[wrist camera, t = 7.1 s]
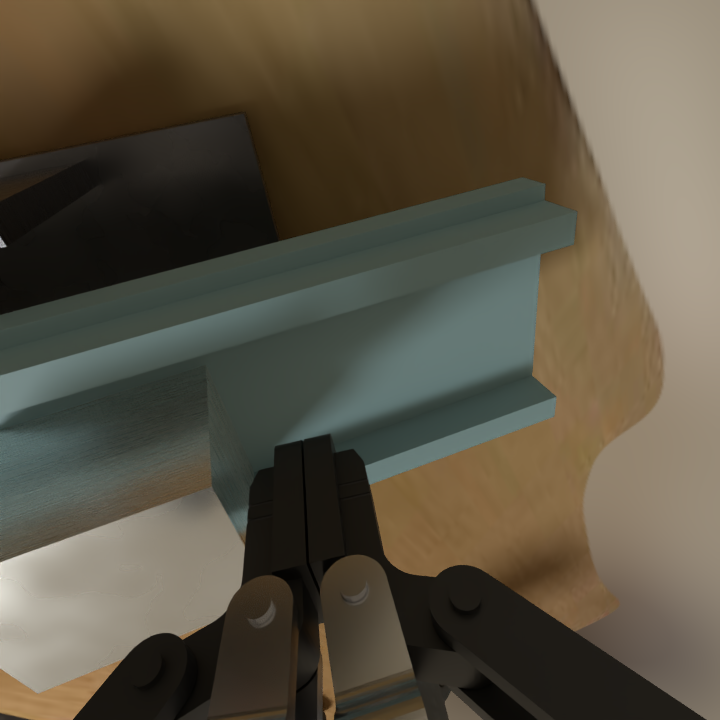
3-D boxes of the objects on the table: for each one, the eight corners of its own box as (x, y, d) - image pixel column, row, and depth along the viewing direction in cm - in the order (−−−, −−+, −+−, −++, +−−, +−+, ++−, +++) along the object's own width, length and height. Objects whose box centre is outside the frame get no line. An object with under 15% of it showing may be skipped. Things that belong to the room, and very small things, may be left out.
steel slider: (-8, 431, 13) (-102, 598, 8) (205, 365, 14) (211, 486, 9) (79, 530, 15) (37, 693, 11) (252, 467, 16) (272, 598, 12)
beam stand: (-371, 234, 17) (-774, 339, 11) (245, 111, 18) (226, 138, 11) (-89, 488, 26) (-216, 635, 19) (322, 396, 27) (336, 506, 20)
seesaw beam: (-649, 333, 13) (-1677, 642, 6) (437, 93, 18) (589, 101, 11) (-224, 586, 20) (-442, 850, 13) (452, 361, 26) (548, 465, 19)
